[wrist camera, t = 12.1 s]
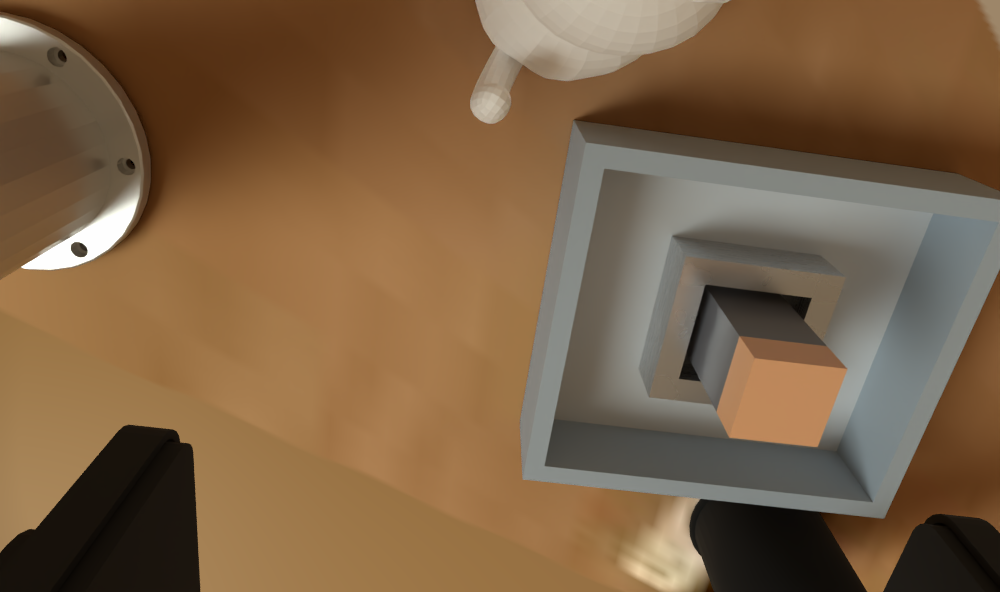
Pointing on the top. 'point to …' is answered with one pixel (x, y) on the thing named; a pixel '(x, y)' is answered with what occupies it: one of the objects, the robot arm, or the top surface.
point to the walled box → (791, 227)
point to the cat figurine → (575, 40)
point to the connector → (763, 367)
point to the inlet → (735, 266)
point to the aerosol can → (769, 549)
